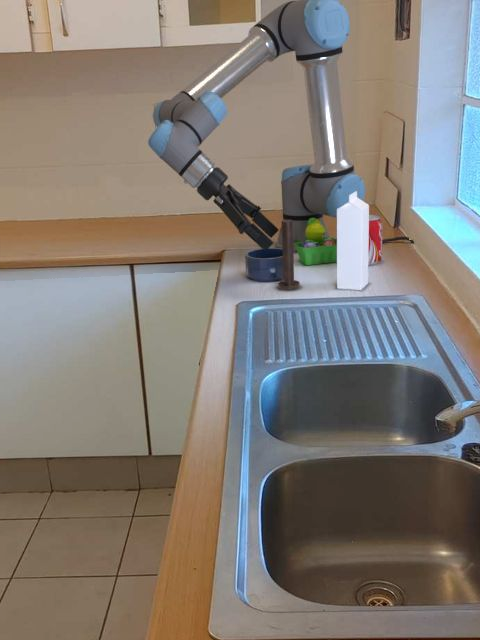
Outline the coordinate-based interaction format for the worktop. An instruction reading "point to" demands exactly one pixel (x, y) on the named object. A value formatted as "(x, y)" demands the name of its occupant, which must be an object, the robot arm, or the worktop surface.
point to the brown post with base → (288, 258)
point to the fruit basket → (316, 245)
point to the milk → (352, 244)
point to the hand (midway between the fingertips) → (272, 240)
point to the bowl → (264, 264)
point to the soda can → (375, 240)
